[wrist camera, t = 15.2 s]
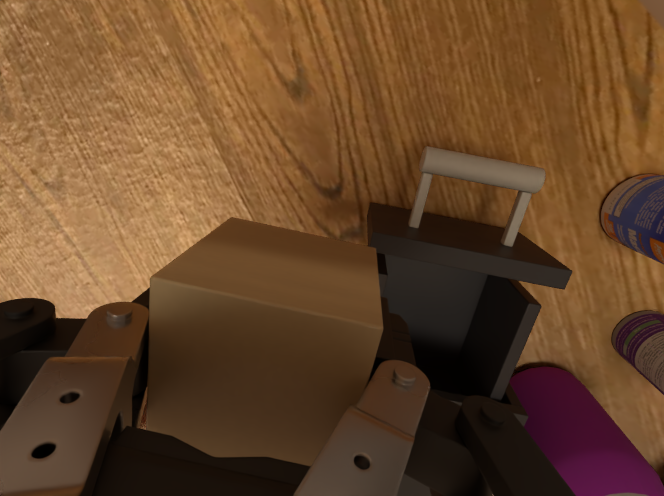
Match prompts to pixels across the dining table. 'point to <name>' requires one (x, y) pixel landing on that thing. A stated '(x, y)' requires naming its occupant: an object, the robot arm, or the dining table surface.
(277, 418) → the block
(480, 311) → the sliding drawer
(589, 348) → the dining table surface
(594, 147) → the dining table surface
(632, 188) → the pill bottle
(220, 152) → the dining table surface
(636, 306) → the dining table surface
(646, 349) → the container
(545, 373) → the beverage can
